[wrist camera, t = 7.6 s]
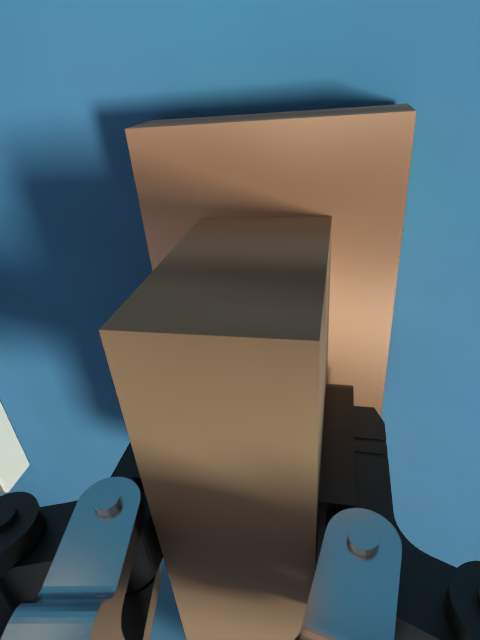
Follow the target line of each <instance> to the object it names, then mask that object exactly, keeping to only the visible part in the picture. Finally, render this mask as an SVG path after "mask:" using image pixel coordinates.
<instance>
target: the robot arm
mask: <svg viewBox="0 0 480 640" xmlns="http://www.w3.org/2000/svg"><path fill="white" fill-rule="evenodd" d="M387 455H388V454H387V444H386V434H385V424H384V422H383V420H382V419H381V417H380V415H379V414H378V412H377V411H376V409H375V408H374V407H363V406H354V390H353V385H340V384H326V392H325V407H324V422H323V437H322V452H321V467H320V482H319V497H318V534H317V567H316V571H315V575H314V579H313V583H312V587H311V590H310V594H309V598H308V602H307V606H306V610H305V614H304V618H303V622H302V626H301V629H300V632H299V635H298V636H297V637H296V638H295V639H294V640H480V561H471V562H467V563H464V564H462V565H460V566H459V567H458V568H456V567H454V566H452V565H449V564H447V563H445V562H443V561H440V560H438V559H436V558H434V557H432V556H430V555H428V554H426V553H424V552H422V551H421V550H419V549H418V548H416V547H415V546H414V545H413V544H411V543H410V542H409V541H408V540H407V539H406V538H405V536H404V535H403V534H402V532H401V531H400V529H399V528H398V526H397V524H396V521H395V518H394V513H393V504H392V494H391V484H390V474H389V464H388V458H387ZM162 558H163V554H162V551H161V547H160V544H159V540H158V537H157V533H156V530H155V526H154V523H153V519H152V516H151V512H150V509H149V505H148V502H147V498H146V495H145V491H144V488H143V484H142V481H141V477H140V474H139V470H138V467H137V463H136V460H135V456H134V453H133V449H132V446H131V442H130V444H129V445H128V447H127V449H126V451H125V452H124V454H123V456H122V458H121V459H120V461H119V463H118V465H117V467H116V468H115V470H114V472H113V474H112V475H111V477H110V478H106V479H103V480H101V481H99V482H97V483H95V484H93V485H92V486H90V487H89V488H88V489H87V490H86V491H85V492H84V493H83V494H82V495H81V497H80V498H79V500H78V501H73V502H68V503H62V504H56V505H50V506H44V507H40V506H39V504H38V502H37V500H36V498H35V497H34V496H33V495H31V494H29V493H26V492H13V493H8V494H5V495H3V496H0V640H150V635H151V630H152V625H153V619H154V614H155V609H156V603H157V598H158V593H159V587H160V582H161V576H162V565H161V560H162Z"/></svg>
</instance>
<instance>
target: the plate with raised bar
mask: <svg viewBox="0 0 480 640" xmlns="http://www.w3.org/2000/svg"><path fill="white" fill-rule="evenodd" d="M415 120H416V110H415V109H413V108H412V107H411V106H410V105H408V104H396V105H381V106H365V107H350V108H334V109H319V110H304V111H288V112H273V113H257V114H242V115H227V116H211V117H196V118H181V119H165V120H151V121H147V122H144V123H141V124H138V125H135V126H132V127H129V128H126V129H125V133H126V138H127V143H128V148H129V154H130V159H131V164H132V169H133V174H134V179H135V184H136V189H137V195H138V200H139V205H140V210H141V215H142V220H143V225H144V230H145V236H146V241H147V246H148V251H149V256H150V261H151V266H152V272H151V273H150V274H149V275H148V276H147V278H146V279H145V280H144V281H143V282H142V283H141V284H140V285H139V286H138V287H137V288H136V290H135V291H134V292H133V293H132V294H131V295H130V296H129V297H128V298H127V299H126V300H125V302H124V303H123V304H122V305H121V306H120V307H119V308H118V309H117V310H116V311H115V313H114V314H113V315H112V316H111V317H110V318H109V319H108V320H107V321H106V322H105V323H104V325H103V326H102V327H101V328H100V329H99V333H100V337H101V340H102V344H103V347H104V351H105V354H106V358H107V361H108V365H109V368H110V372H111V375H112V379H113V382H114V386H115V389H116V393H117V396H118V400H119V403H120V407H121V410H122V414H123V418H124V421H125V425H126V428H127V432H128V435H129V439H130V442H131V446H132V449H133V453H134V456H135V460H136V463H137V467H138V470H139V474H140V477H141V481H142V484H143V488H144V491H145V495H146V498H147V502H148V505H149V509H150V512H151V516H152V519H153V523H154V526H155V530H156V533H157V537H158V540H159V544H160V547H161V551H162V554H163V558H164V561H165V565H166V568H167V572H168V576H169V579H170V583H171V586H172V590H173V593H174V597H175V600H176V604H177V607H178V611H179V614H180V618H181V621H182V625H183V628H184V632H185V635H186V639H187V640H294V639H295V638H296V637H297V636H298V635H299V632H300V629H301V626H302V622H303V618H304V614H305V610H306V606H307V602H308V598H309V594H310V590H311V587H312V583H313V579H314V575H315V571H316V567H317V534H318V497H319V482H320V467H321V452H322V437H323V422H324V407H325V392H326V384H340V385H353V390H354V406H363V407H374V408H375V409H376V411H377V412H378V414H379V415H380V417H381V412H382V404H383V395H384V387H385V378H386V369H387V361H388V352H389V344H390V335H391V326H392V318H393V309H394V300H395V292H396V283H397V275H398V266H399V257H400V249H401V240H402V232H403V223H404V214H405V206H406V197H407V189H408V180H409V171H410V163H411V154H412V146H413V137H414V128H415Z"/></svg>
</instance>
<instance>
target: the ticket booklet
mask: <svg viewBox="0 0 480 640" xmlns="http://www.w3.org/2000/svg"><path fill="white" fill-rule="evenodd" d="M29 465H30V464H29V462H28V460H27V458H26V456H25V454H24V452H23V449H22V447H21V445H20V443H19V441H18V439H17V436H16V434H15V432H14V430H13V428H12V426H11V424H10V421H9V419H8V417H7V415H6V413H5V411H4V409H3V406H2V404H1V402H0V493H2V494H3V493H4V492H9V491H10V489H11V488H12V487H13V486H14V484H15V483H16V482H17V480H18V479H19V478H20V477H21V475H22V474H23V473H24V471H25V470H26V469H27V468H28V466H29Z"/></svg>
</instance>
